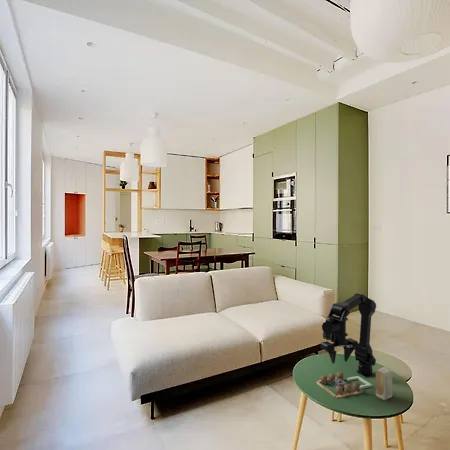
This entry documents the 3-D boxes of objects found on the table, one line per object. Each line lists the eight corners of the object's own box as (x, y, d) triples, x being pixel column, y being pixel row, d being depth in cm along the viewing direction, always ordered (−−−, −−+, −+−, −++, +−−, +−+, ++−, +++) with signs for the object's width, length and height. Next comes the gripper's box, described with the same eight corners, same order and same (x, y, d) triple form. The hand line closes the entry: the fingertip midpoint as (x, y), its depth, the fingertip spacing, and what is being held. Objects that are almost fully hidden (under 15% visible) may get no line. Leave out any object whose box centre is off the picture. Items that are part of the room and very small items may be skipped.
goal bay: (357, 377, 154) (357, 376, 154) (371, 386, 146) (371, 384, 146) (347, 380, 152) (347, 378, 152) (360, 389, 143) (360, 386, 143)
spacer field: (340, 377, 154) (340, 370, 154) (362, 392, 140) (362, 385, 140) (315, 382, 149) (315, 375, 149) (335, 398, 135) (336, 390, 135)
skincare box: (383, 392, 141) (384, 366, 141) (392, 397, 137) (392, 370, 137) (375, 395, 138) (375, 369, 138) (383, 400, 134) (383, 373, 134)
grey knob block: (340, 384, 148) (340, 377, 148) (346, 389, 144) (346, 382, 144) (332, 386, 146) (332, 379, 146) (339, 390, 142) (339, 383, 142)
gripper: (343, 323, 156) (343, 353, 156) (313, 327, 150) (313, 358, 150) (359, 330, 146) (359, 362, 145) (327, 334, 140) (327, 367, 139)
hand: (339, 362), depth 145 cm, fingers open, 7 cm apart
